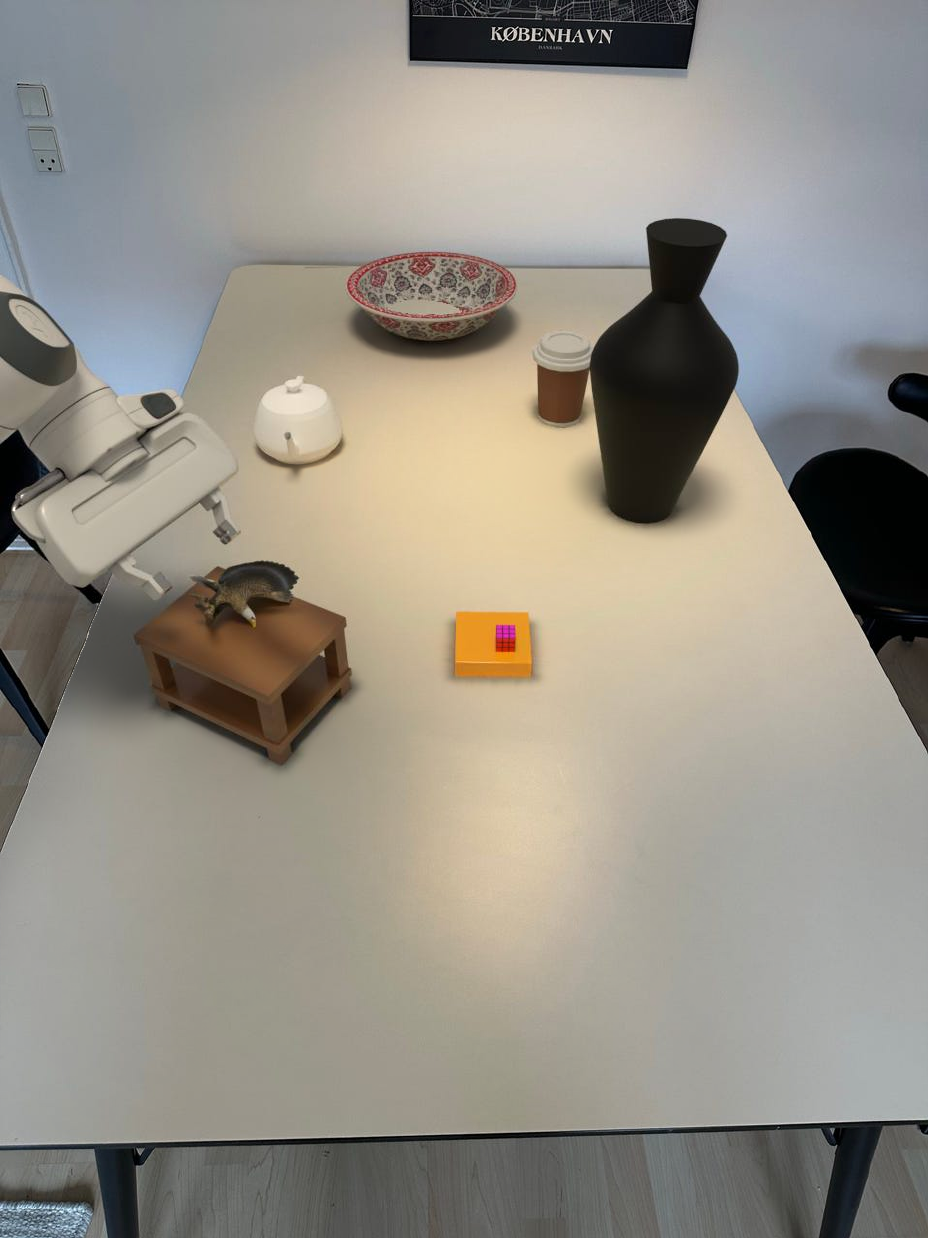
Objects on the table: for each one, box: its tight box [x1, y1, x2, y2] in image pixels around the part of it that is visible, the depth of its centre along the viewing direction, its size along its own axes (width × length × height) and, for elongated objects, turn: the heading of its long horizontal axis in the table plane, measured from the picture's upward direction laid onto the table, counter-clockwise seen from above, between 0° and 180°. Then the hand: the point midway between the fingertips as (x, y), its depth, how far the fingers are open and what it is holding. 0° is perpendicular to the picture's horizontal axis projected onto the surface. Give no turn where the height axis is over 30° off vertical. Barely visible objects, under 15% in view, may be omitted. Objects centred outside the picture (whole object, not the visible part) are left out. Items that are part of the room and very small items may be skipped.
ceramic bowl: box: [345, 251, 518, 341], centre depth 156 cm, size 29×29×8 cm
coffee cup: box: [532, 330, 594, 428], centre depth 132 cm, size 9×9×12 cm
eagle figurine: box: [188, 559, 300, 628], centre depth 85 cm, size 8×7×9 cm
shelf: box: [132, 565, 353, 766], centre depth 89 cm, size 12×16×10 cm
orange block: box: [454, 611, 533, 678], centre depth 97 cm, size 8×8×4 cm
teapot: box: [252, 375, 344, 465], centre depth 125 cm, size 20×12×10 cm, turn 3°
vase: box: [589, 217, 740, 525], centre depth 107 cm, size 17×17×35 cm
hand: (200, 565), depth 83 cm, fingers open, 8 cm apart
